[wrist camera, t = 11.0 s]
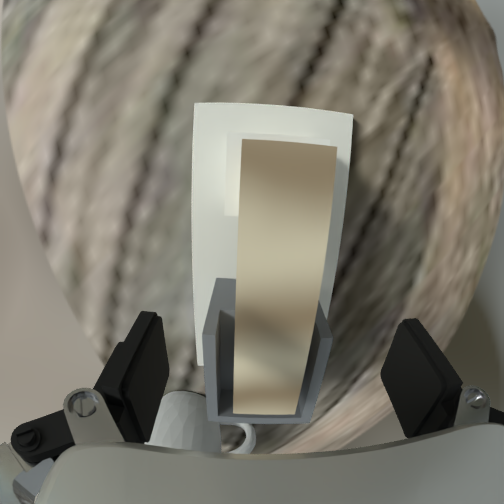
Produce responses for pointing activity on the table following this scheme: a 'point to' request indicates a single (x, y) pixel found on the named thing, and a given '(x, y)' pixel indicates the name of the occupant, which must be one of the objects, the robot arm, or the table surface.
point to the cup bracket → (226, 237)
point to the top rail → (279, 268)
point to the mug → (192, 425)
